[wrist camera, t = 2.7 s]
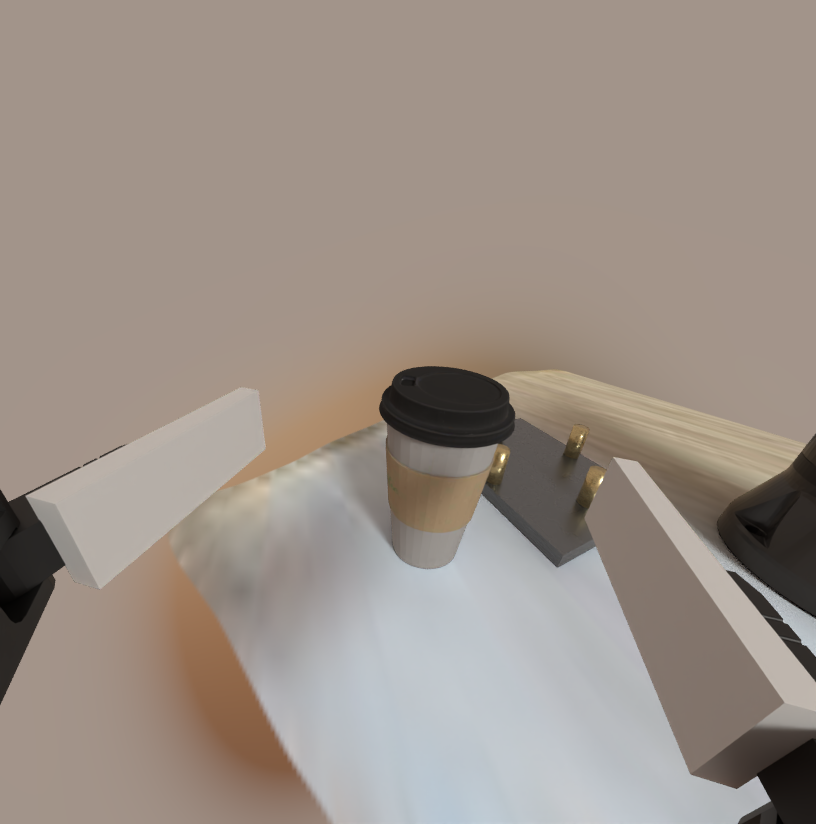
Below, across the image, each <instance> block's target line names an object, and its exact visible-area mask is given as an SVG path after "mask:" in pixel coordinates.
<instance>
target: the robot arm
mask: <svg viewBox="0 0 816 824" xmlns="http://www.w3.org/2000/svg"><path fill="white" fill-rule="evenodd" d="M264 450H265V440H264V432H263V424H262V416H261V407H260V399H259V391H258V390H254V389H249V388H244V387H240V388H238V389H236V390H234V391H233V392H230V393H228V394H226V395H224V396H222V397H220V398H219V399H216V400H214V401H212V402H211V403H208V404H207V405H205V406H203V407H201V408H199V409H197V410H195V411H193V412H191V413H189V414H187V415H185V416H183V417H181V418H179V419H177V420H175V421H173V422H171V423H169V424H167V425H165V426H163V427H161V428H159V429H157V430H155V431H153V432H151V433H149V434H147V435H145V436H143V437H141V438H139V439H137V440H135V441H133V442H131V443H129V444H127V445H123V446H120V447H118V448H116V449H114V450H112V451H110V452H108V453H106V454H104V455H102V456H100V458H99V459H94V460H92V461H90V462H88V463H86V464H84V465H83V467H78V468H76V469H74V470H72V471H70V472H68V473H66V474H64V475H62V476H60V477H58V478H56V479H54V480H52V481H50V482H48V483H46V484H44V485H42V486H40V487H38V488H36V489H34V490H32V491H30V492H28V493H26V494H24V495H22V496H20V497H18V498H16V499H14V500H11V501H9V502H8V501H7V500H6V498H5V496H4V495H3V493H2V491H1V490H0V704H1V702H2V700H3V698H4V695H5V694H6V691H7V689H8V687H9V685H10V683H11V681H12V678H13V676H14V674H15V672H16V670H17V667H18V665H19V663H20V661H21V659H22V657H23V654H24V652H25V650H26V648H27V646H28V644H29V641H30V639H31V637H32V635H33V633H34V631H35V628H36V626H37V624H38V622H39V620H40V618H41V615H42V613H43V611H44V608H45V607H46V605H47V602H48V600H49V598H50V596H51V594H52V591H53V589H54V586H55V579H54V577H53V575H52V574H53V573H55V572H56V571H58V570H59V569H61V568H62V567H63V566H66V568H67V570H68V572H69V573H70V575H71V577H72V579H73V580H74V582H76V583H80V584H83V585H86V586H89V587H93V588H96V589H99V590H100V589H102V588H103V587H104V586H105V585H106V584H107V583H109V582H110V581H111V580H112V579H113V578H114V577H116V576H117V575H118V574H119V573H120V572H122V571H123V570H124V569H125V568H126V567H127V566H129V565H130V564H131V563H132V562H133V561H134V560H136V559H137V558H138V557H139V556H140V555H142V554H143V553H144V552H145V551H146V550H147V549H149V548H150V547H151V546H152V545H153V544H154V543H155V542H157V541H158V540H159V539H160V538H162V537H163V536H164V535H165V534H166V533H167V532H169V531H170V530H171V529H172V528H173V527H174V526H176V525H177V524H178V523H179V522H180V521H181V520H183V519H184V518H185V517H186V516H187V515H189V514H190V513H191V512H192V511H193V510H194V509H196V508H197V507H198V506H199V505H200V504H201V503H203V502H204V501H205V500H206V499H207V498H208V497H210V496H211V495H212V494H213V493H214V492H216V491H217V490H218V489H219V488H220V487H221V486H223V485H224V484H225V483H226V482H227V481H228V480H230V479H231V478H232V477H233V476H234V475H236V474H237V473H238V472H239V471H240V470H241V469H243V468H244V467H245V466H246V465H247V464H248V463H250V462H251V461H252V460H253V459H254V458H255V457H257V456H258V455H259V454H260V453H261V452H263V451H264ZM584 518H585V521H586V523H587V526H588V528H589V531H590V533H591V535H592V538H593V540H594V543H595V545H596V547H597V550H598V552H599V555H600V557H601V560H602V562H603V564H604V567H605V569H606V572H607V574H608V576H609V579H610V581H611V584H612V586H613V589H614V591H615V593H616V596H617V598H618V601H619V603H620V605H621V608H622V610H623V613H624V615H625V617H626V620H627V622H628V625H629V627H630V630H631V632H632V634H633V637H634V639H635V642H636V644H637V646H638V649H639V651H640V654H641V656H642V659H643V661H644V663H645V666H646V668H647V671H648V673H649V675H650V678H651V680H652V683H653V685H654V688H655V690H656V692H657V695H658V697H659V700H660V702H661V704H662V707H663V709H664V712H665V714H666V717H667V719H668V721H669V724H670V726H671V729H672V731H673V733H674V736H675V738H676V741H677V743H678V745H679V748H680V750H681V753H682V755H683V758H684V760H685V762H686V765H687V767H688V770H689V772H690V774H691V775H694V776H697V777H700V778H704V779H707V780H710V781H713V782H716V783H720V784H723V785H726V786H729V787H732V788H736V789H737V788H739V787H741V786H742V785H744V784H745V783H747V782H749V781H750V780H752V779H753V778H755V777H756V776H758V777H759V779H760V781H761V783H762V785H763V787H764V789H765V790H766V792H767V794H768V796H769V798H770V800H771V802H769V803H767V804H765V805H763V806H762V807H760V808H758V809H756V810H754V811H753V812H751V813H749V814H747V815H745V816H744V817H742V818H741V819H740V821H739V823H738V824H816V657H815V656H814V654H813V653H812V652H811V651H810V650H809V649H808V647H807V646H804V645H802V644H801V639H800V638H799V637H798V636H797V635H796V633H795V632H794V631H793V630H792V629H791V628H790V626H789V625H788V624H785V623H783V618H782V617H781V616H780V615H779V614H778V612H777V611H776V610H775V609H774V608H773V607H772V605H771V604H770V603H769V602H768V601H767V600H766V598H765V597H764V596H763V595H762V594H761V593H760V592H758V591H757V590H756V589H755V588H754V587H752V586H751V585H750V584H749V583H748V582H746V581H745V580H744V579H743V578H742V577H740V576H739V575H738V574H737V573H735V572H732V571H727V570H725V569H724V568H723V567H722V565H721V564H720V563H719V562H718V560H717V559H716V558H715V557H714V555H713V554H712V553H711V552H710V550H709V549H708V548H707V547H706V545H705V544H704V543H703V542H702V541H701V539H700V538H699V537H698V536H697V534H696V533H695V532H694V531H693V529H692V528H691V527H690V526H689V524H688V523H687V522H686V521H685V519H684V518H683V517H682V516H681V515H680V513H679V512H678V511H677V510H676V508H675V507H674V506H673V505H672V503H671V502H670V501H669V500H668V498H667V497H666V496H665V495H664V493H663V492H662V491H661V490H660V489H659V487H658V486H657V485H656V484H655V482H654V481H653V480H652V479H651V477H650V476H649V475H648V474H647V472H646V471H645V470H644V469H643V467H642V466H641V465H640V464H639V463H638V461H632V460H627V459H622V458H616V457H613V458H612V460H611V462H610V464H609V467H608V469H607V471H606V473H605V475H604V477H603V479H602V481H601V484H600V486H599V488H598V490H597V492H596V494H595V496H594V498H593V501H592V503H591V505H590V507H589V509H588V511H587V513H586V515H585V517H584ZM718 530H719V533H720V535H721V537H722V539H723V540H724V542H725V543H726V545H727V546H728V547H729V549H730V550H731V551H732V552H733V553H734V554H735V555H736V557H737V558H738V559H739V560H740V561H741V562H742V563H743V564H744V565H746V566H747V567H748V568H749V569H750V570H751V571H752V572H753V573H755V574H756V575H757V576H758V577H759V578H761V579H762V580H763V581H764V582H766V583H767V584H768V585H770V586H771V587H772V588H773V589H775V590H776V591H778V592H779V593H780V594H782V595H783V596H785V597H786V598H788V599H789V600H791V601H792V602H794V603H795V604H797V605H798V606H800V607H801V608H803V609H805V610H806V611H808V612H809V613H811V614H813V615H814V616H816V434H815V435H814V436H813V438H812V439H811V440H810V441H809V443H808V444H807V445H806V446H805V448H804V449H803V450H802V452H801V453H800V454H799V455H798V457H797V458H796V459H795V461H794V462H793V463H792V464H791V465H790V467H789V468H787V469H786V470H785V471H783V472H782V473H780V474H778V475H776V476H775V477H773V478H771V479H769V480H768V481H766V482H764V483H763V484H761V485H759V486H757V487H756V488H754V489H752V490H751V491H749V492H747V493H745V494H744V495H742V496H740V497H739V498H737V499H735V500H734V501H732V502H731V503H730V504H729V506H728V507H727V508H726V510H725V511H724V512H723V514H722V515H721V516H720V518H719V520H718Z"/></svg>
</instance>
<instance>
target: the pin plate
mask: <svg viewBox="0 0 816 824" xmlns="http://www.w3.org/2000/svg"><path fill="white" fill-rule="evenodd" d="M514 423H515V428H514V431H513V433H512V435H511V436H510V437H509V438H507V439H506V440H504V441H502V442H500V443H498V445H497V448H496V451H495V453H494V462H493V465H492V467H491V470H490V472H489V475H488V477H487V480H486V483H485V485H484V488H483V490H482V494H483V495H484V496H485V497H486V498H487V499H488V500H489V501H490V502H491V503H492V504H493V505H494V506H495V507H496V508H497V509H498V510H499V511H500V512H501V513H502V514H503V515H504V516H505V517H506V518H507V519H508V520H509V521H510V522H511V523H512V524H514V525H515V526H516V527H517V528H518V529H519V530H520V531H521V532H522V533H523V534H524V535H525V536H526V537H527V538H528V539H529V540H530V541H531V542H532V543H533V544H534V545H535V546H536V547H537V548H538V549H539V550H540V551H541V552H542V553H543V554H544V555H545V556H546V557H547V558H548V559H549V560H550V561H551V562H552V563H554V564H555V565H556V566H557V567H559V566H561V565H563V564H565V563H567V562H568V561H570V560H572V559H574V558H576V557H577V556H579V555H581V554H583V553H584V552H586V551H588V550H590V549H592V548H593V547H595V546H596V545H595V543H594V540H593V538H592V535H591V533H590V531H589V528H588V526H587V523H586V521H585V518H584V517H585V515H586V513H587V511H588V509H589V507H590V505H591V503H592V501H593V498H594V496H595V494H596V492H597V490H598V488H599V486H600V484H601V481H602V479H603V477H604V475H605V473H606V471H607V470H606V469H604V468H603V467H601V466H599V465H598V464H596V463H594V462H593V461H591V460H589V459H588V458H586V457H584V456H583V455H581V454H580V453H581V450H582V448H583V445H584V443H585V440H586V438H587V435H588V433H589V430H590V429H589V428H588V427H586V426H584V425H580V424H575V425H574V426H573V429H572V431H571V434H570V437H569V439H568V442H567V445H564V444H563V443H561V442H559V441H558V440H556V439H554V438H553V437H551V436H549V435H548V434H546V433H544V432H543V431H541V430H539V429H538V428H536V427H534V426H533V425H531V424H529V423H528V422H526V421H524V420H523V419H521V418H520V419H515V421H514Z"/></svg>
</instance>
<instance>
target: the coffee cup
mask: <svg viewBox="0 0 816 824" xmlns="http://www.w3.org/2000/svg"><path fill="white" fill-rule="evenodd" d="M379 410H380V414H381V416H382V418H383V419H384V420H385V422H386V423H387V434H388V435H387V438H386V458H387V479H388V500H389V505H390V508H391V525H392V543H393V547H394V550H395V552H396V554H397V555H398V556H399V557H400V559H402V560H403V561H404V562H405V563H407V564H409V565H411V566H415V567H418V568H424V569H434V568H439V567H442V566H445V565H446V564H448V563H449V562H450V561H451V560H452V559H453V558H454V556H455V554H456V551H457V549H458V546H459V544H460V541H461V539H462V536H463V533H464V531H465V528H466V526H467V524H468V522H469V521H470V520H471V518H472V516H473V513H474V511H475V508H476V506H477V503H478V500H479V498H480V495H481V493H482V490H483V488H484V485H485V483H486V480H487V477H488V475H489V472H490V470H491V467H492V465H493V462H494V453H495V451H496V448H497V445H498V443H500V442H502V441H504V440H506V439H507V438H509V437H510V436H511V435H512V433H513V431H514V428H515V423H514V421H515V411H514V409H513V407H512V406H511V405H510V403H509V393H508V391H507V390H506V388H505V387H504V386H502V385H501V384H500V383H498V382H497V381H495V380H493V379H491V378H489V377H486V376H483V375H481V374H478V373H474V372H471V371H467V370H462V369H457V368H449V367H436V366H427V367H416V368H411V369H407V370H404V371H402V372H400V373H398V374H397V375H396V376H395V377H394V379H393V381H392V385H391V386H389V387H388V388H387V389H386V390H385V391H384V393H383V395H382V401H381V403H380V407H379Z"/></svg>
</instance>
